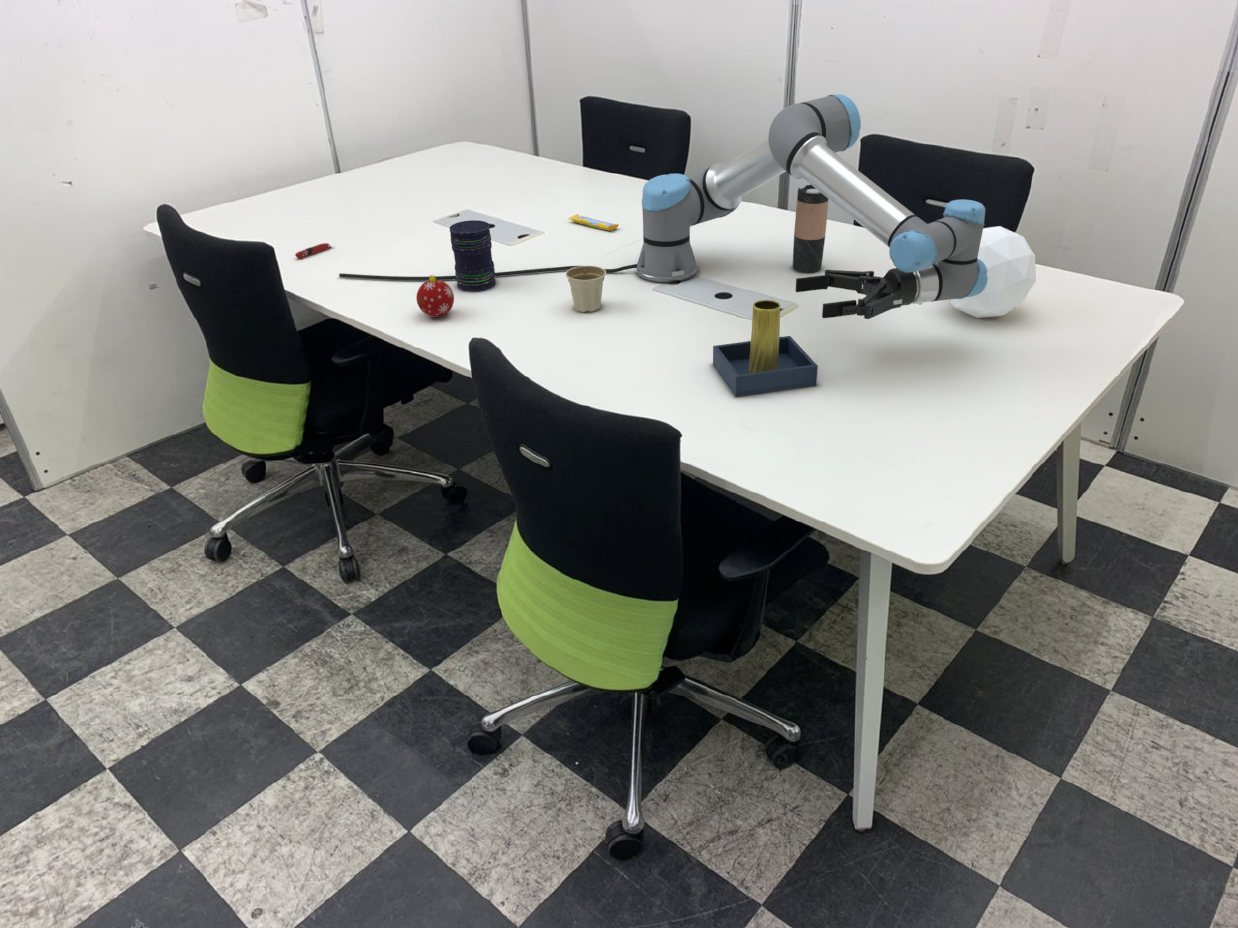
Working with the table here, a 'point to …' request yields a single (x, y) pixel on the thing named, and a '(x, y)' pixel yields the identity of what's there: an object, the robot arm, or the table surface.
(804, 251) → the travel mug
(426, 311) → the christmas ornament
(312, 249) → the utility knife
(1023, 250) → the geometric polyhedron
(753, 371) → the vase
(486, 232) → the storage jar
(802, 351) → the tray
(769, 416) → the table surface
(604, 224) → the candy bar
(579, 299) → the flower pot
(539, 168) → the table surface
